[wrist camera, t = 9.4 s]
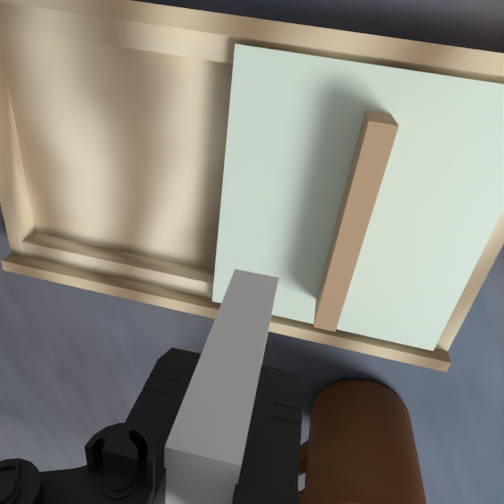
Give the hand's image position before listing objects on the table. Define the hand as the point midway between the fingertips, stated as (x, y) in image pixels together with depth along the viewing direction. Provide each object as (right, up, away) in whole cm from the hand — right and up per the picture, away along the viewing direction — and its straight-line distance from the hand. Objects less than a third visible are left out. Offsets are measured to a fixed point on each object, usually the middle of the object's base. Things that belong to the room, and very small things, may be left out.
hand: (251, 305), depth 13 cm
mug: (+7, -11, +18) cm, 22 cm away
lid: (+5, +4, +8) cm, 10 cm away
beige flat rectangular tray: (-1, +6, +10) cm, 12 cm away
